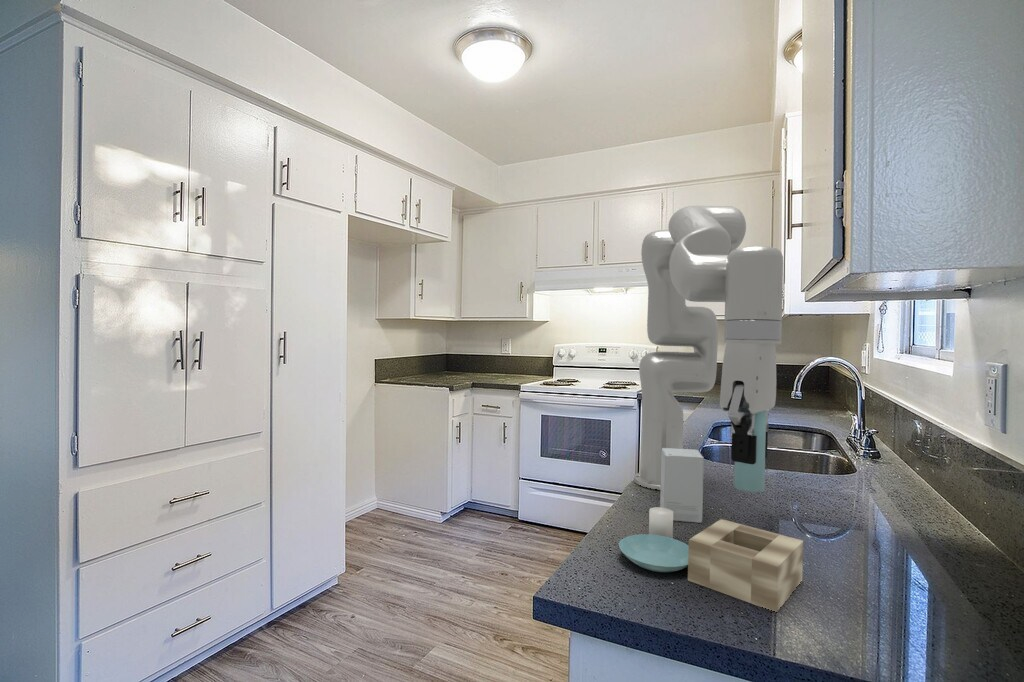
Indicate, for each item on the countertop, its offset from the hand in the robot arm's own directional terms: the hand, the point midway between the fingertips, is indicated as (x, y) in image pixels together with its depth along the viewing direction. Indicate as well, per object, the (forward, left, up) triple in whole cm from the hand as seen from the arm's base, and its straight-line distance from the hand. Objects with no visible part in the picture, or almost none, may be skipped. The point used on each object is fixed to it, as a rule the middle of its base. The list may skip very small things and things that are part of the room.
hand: (749, 458), depth 75 cm
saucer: (+3, -12, -18) cm, 23 cm away
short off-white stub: (-5, -16, -18) cm, 25 cm away
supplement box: (-19, -19, -18) cm, 33 cm away
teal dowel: (0, 0, -4) cm, 4 cm away
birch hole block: (0, 0, -18) cm, 18 cm away
